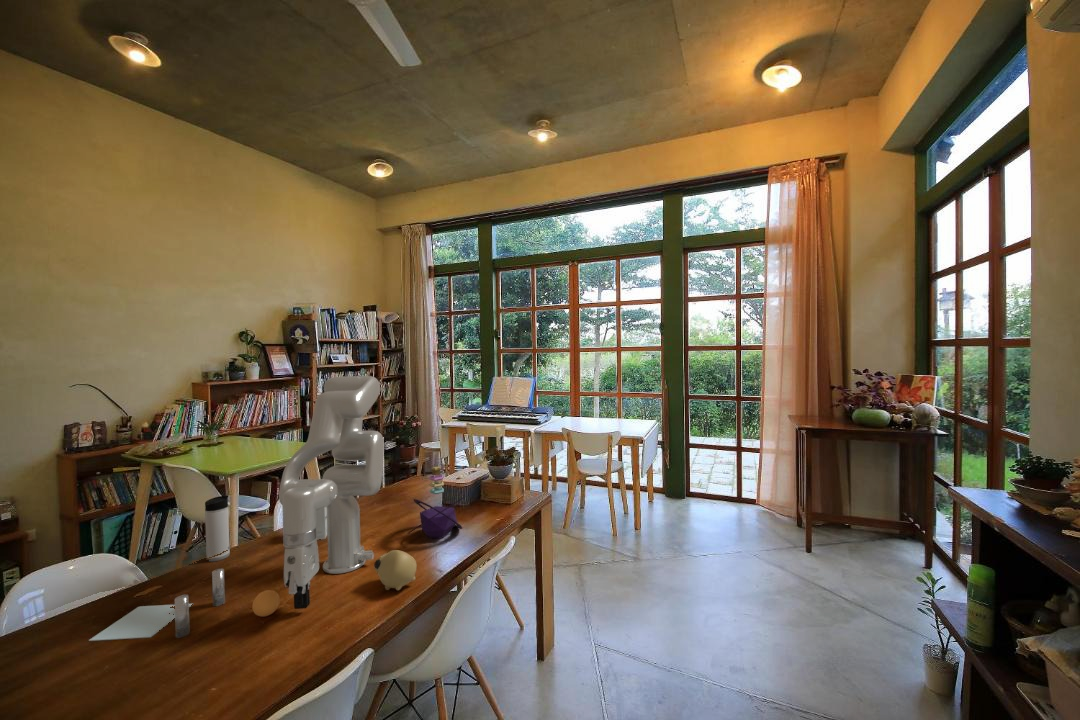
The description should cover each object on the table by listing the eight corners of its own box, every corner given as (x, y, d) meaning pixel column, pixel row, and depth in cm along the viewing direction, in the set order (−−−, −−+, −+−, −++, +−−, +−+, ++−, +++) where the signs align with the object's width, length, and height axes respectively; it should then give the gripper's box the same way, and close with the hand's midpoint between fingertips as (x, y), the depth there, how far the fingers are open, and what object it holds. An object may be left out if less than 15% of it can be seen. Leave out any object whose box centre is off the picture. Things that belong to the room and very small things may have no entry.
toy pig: (396, 573, 134) (395, 538, 134) (423, 584, 127) (422, 547, 127) (368, 588, 125) (367, 551, 125) (396, 600, 119) (394, 561, 119)
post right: (227, 600, 120) (226, 568, 120) (220, 606, 118) (219, 572, 118) (217, 601, 120) (216, 568, 120) (210, 606, 118) (209, 573, 118)
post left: (192, 630, 107) (191, 594, 107) (184, 637, 105) (183, 600, 105) (181, 631, 107) (179, 594, 107) (172, 638, 105) (171, 600, 105)
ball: (284, 607, 117) (283, 584, 117) (272, 621, 111) (271, 597, 111) (261, 608, 116) (260, 586, 116) (247, 622, 110) (246, 598, 110)
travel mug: (235, 554, 150) (233, 495, 149) (215, 563, 143) (213, 501, 143) (222, 551, 152) (220, 494, 151) (202, 560, 145) (200, 500, 145)
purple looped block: (480, 533, 162) (478, 465, 162) (432, 554, 146) (430, 479, 146) (442, 519, 177) (441, 457, 176) (395, 537, 161) (393, 468, 160)
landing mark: (193, 604, 119) (193, 603, 119) (150, 637, 105) (150, 636, 105) (139, 607, 118) (138, 606, 118) (88, 641, 104) (88, 640, 104)
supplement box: (325, 539, 160) (324, 504, 160) (303, 541, 158) (302, 506, 158) (330, 531, 167) (329, 498, 167) (309, 533, 166) (308, 500, 165)
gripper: (301, 548, 107) (303, 623, 107) (326, 524, 121) (328, 590, 122) (269, 549, 106) (271, 625, 106) (298, 526, 121) (300, 592, 121)
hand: (302, 606), depth 114 cm, fingers closed
